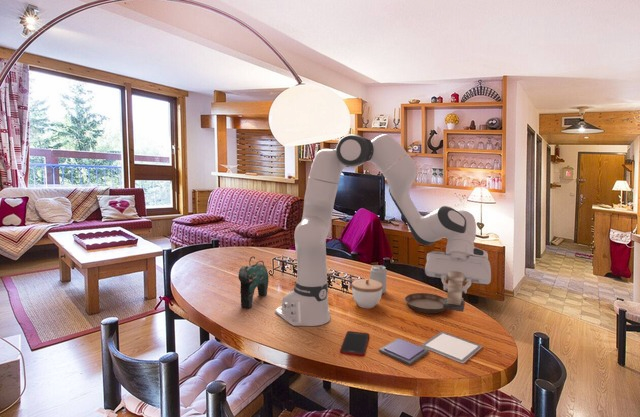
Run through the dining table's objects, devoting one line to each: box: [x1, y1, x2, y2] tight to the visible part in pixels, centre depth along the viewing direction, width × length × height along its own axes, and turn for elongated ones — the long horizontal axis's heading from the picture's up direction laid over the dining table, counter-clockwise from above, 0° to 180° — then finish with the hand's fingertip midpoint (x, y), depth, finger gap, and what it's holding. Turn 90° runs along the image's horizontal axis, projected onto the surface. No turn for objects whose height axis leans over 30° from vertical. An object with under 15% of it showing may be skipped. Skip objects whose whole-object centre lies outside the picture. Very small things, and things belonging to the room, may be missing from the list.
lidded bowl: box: [351, 278, 383, 309], centre depth 154 cm, size 13×13×11 cm
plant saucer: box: [404, 292, 446, 314], centre depth 154 cm, size 18×18×3 cm
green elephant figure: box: [238, 256, 269, 310], centre depth 156 cm, size 20×6×20 cm, turn 161°
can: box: [369, 264, 388, 295], centre depth 169 cm, size 8×8×12 cm
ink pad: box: [378, 337, 430, 366], centre depth 117 cm, size 11×11×1 cm
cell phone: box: [339, 330, 370, 357], centre depth 122 cm, size 8×15×1 cm, turn 166°
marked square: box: [420, 331, 483, 364], centre depth 120 cm, size 14×14×1 cm
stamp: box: [443, 271, 466, 312], centre depth 118 cm, size 6×6×11 cm
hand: (454, 290), depth 117 cm, fingers closed on stamp, 4 cm apart
